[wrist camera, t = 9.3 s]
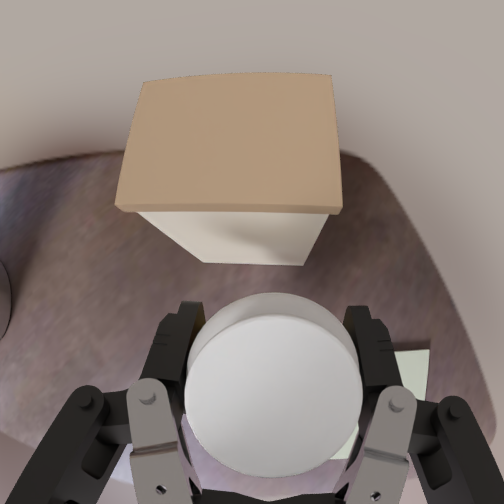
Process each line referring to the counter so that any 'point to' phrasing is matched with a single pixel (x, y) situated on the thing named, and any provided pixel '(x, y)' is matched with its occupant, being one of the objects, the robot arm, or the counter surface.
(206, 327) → the supplement bottle
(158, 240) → the counter surface
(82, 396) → the robot arm
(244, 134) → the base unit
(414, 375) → the plate
